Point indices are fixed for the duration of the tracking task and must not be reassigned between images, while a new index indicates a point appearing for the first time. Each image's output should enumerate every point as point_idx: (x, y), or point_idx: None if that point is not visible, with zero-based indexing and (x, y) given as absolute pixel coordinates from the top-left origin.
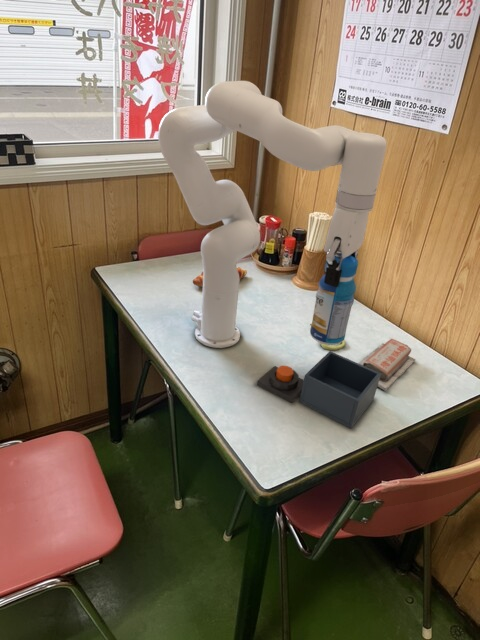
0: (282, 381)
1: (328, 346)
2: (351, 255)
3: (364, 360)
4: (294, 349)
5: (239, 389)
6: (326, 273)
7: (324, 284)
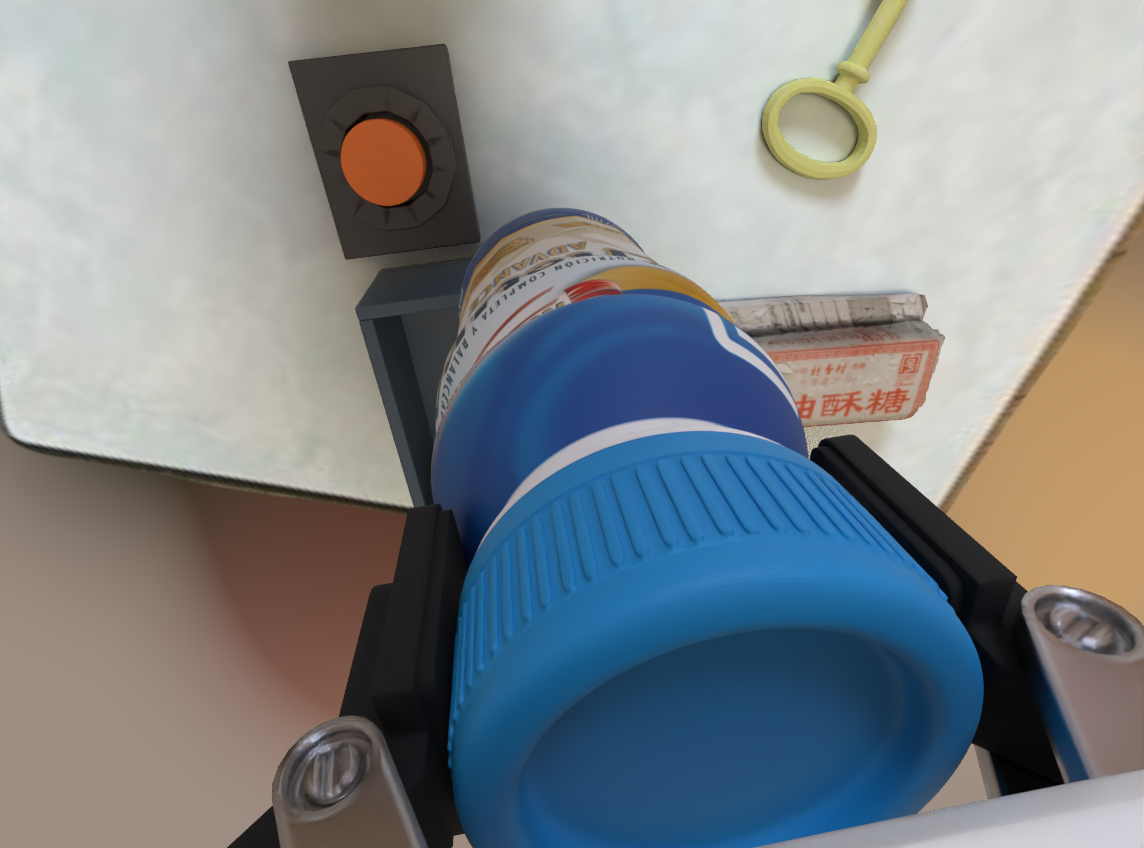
0: (347, 184)
1: (774, 134)
2: (992, 730)
3: (767, 309)
4: (660, 4)
5: (197, 21)
6: (393, 603)
7: (447, 471)
